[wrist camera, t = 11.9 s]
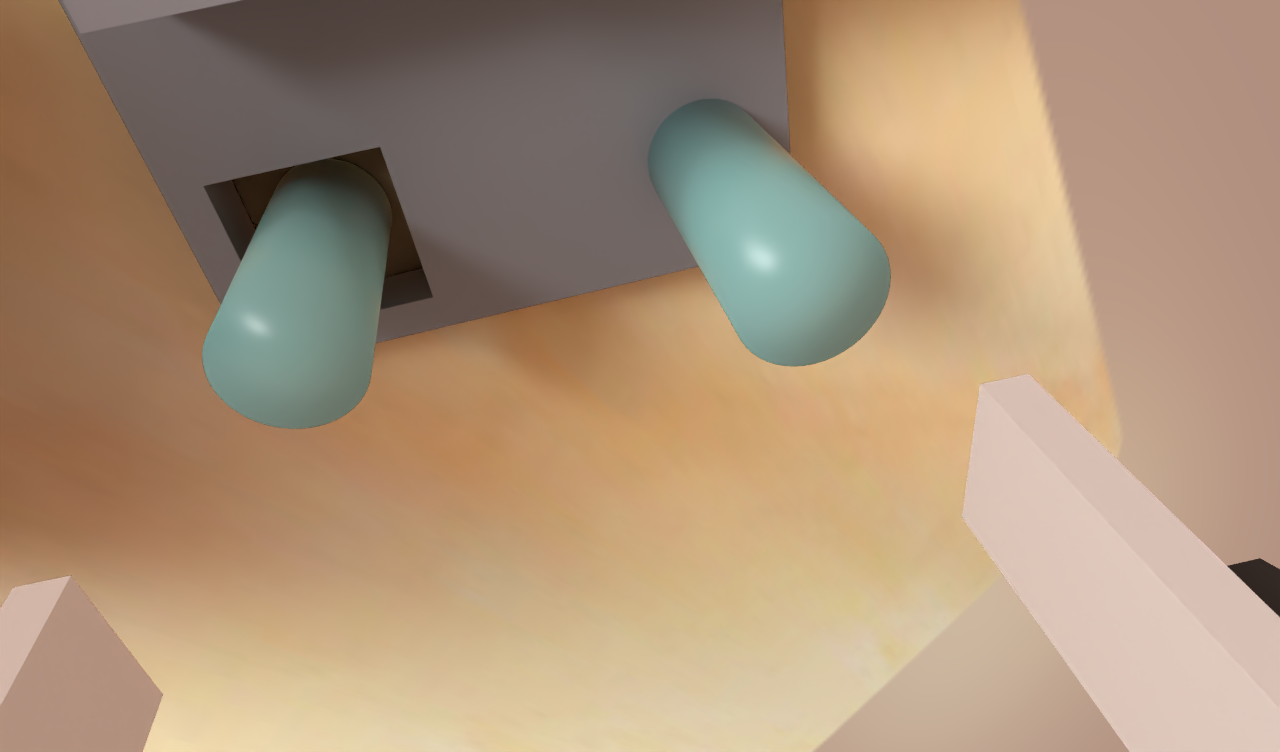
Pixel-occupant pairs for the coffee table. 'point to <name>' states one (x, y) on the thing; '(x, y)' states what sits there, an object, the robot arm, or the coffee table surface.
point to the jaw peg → (304, 300)
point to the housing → (506, 148)
